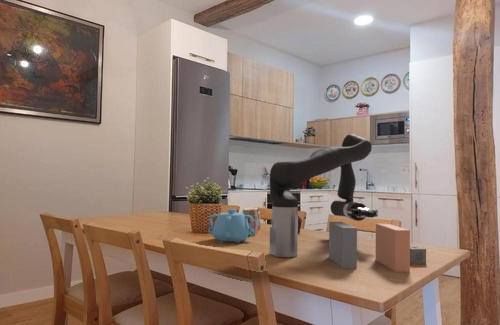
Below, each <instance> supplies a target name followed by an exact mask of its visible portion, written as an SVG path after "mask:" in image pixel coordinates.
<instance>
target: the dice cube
mask: <svg viewBox="0 0 500 325" xmlns="http://www.w3.org/2000/svg"><path fill="white" fill-rule="evenodd" d="M410 265H427V248H424V247H421V246H418V245H410Z"/></svg>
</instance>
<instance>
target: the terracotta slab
mask: <svg viewBox="0 0 500 325" xmlns="http://www.w3.org/2000/svg"><path fill="white" fill-rule="evenodd" d="M410 246H411V230H410V229H406V228H403V227H401V226H397V225H393V224H390V223H375V261H376V262H378V263H380V264H381V265H383V266H385V267H386V268H388V269H390V270H391V271H393V272H396V273H397V272H398V273H399V272H401V273H405V272H406V273H408V272H410V270H411V267H410V265H411V264H410Z"/></svg>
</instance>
